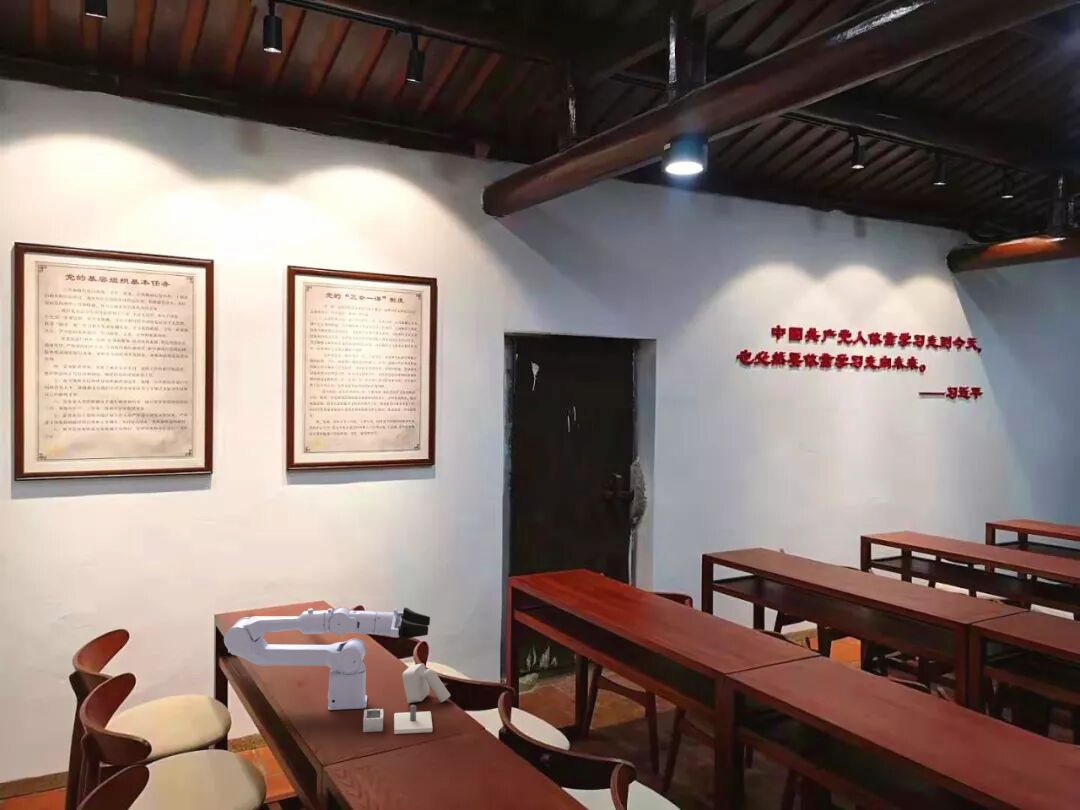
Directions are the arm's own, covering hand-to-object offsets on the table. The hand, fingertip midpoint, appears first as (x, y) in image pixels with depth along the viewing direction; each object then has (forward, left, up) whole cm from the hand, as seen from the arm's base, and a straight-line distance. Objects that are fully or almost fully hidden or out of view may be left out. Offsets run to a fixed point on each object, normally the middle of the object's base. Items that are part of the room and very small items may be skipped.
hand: (429, 625), depth 211 cm
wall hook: (0, +2, -21) cm, 21 cm away
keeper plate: (-4, -13, -20) cm, 25 cm away
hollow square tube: (-14, -13, -20) cm, 28 cm away
